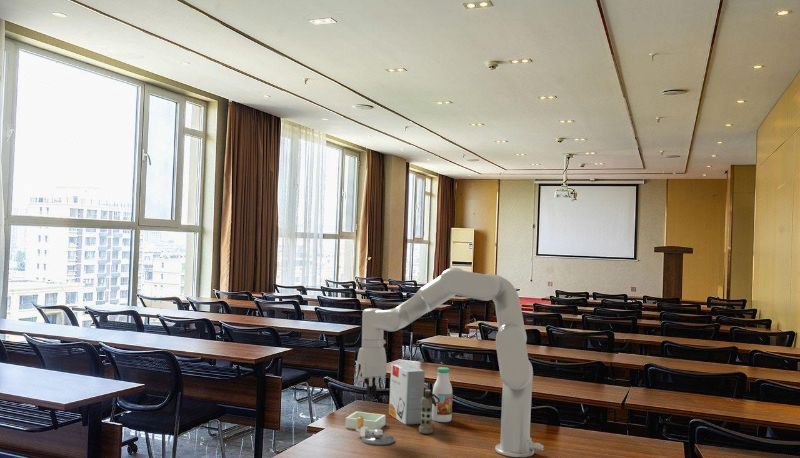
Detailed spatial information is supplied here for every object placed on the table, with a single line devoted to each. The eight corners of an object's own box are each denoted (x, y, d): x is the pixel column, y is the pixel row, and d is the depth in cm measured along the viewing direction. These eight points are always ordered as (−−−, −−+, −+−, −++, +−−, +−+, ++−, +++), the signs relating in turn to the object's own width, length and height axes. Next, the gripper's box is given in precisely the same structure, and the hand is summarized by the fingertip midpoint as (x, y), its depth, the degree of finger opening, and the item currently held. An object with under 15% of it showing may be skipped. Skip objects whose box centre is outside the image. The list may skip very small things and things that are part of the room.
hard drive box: (388, 414, 261) (390, 363, 262) (405, 413, 264) (407, 363, 265) (405, 425, 247) (407, 371, 248) (423, 423, 250) (425, 370, 251)
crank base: (398, 438, 229) (398, 426, 229) (387, 447, 218) (388, 434, 218) (366, 434, 232) (367, 422, 232) (355, 442, 222) (355, 430, 222)
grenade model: (436, 435, 235) (438, 392, 235) (417, 433, 236) (419, 391, 237) (439, 430, 241) (441, 389, 241) (420, 429, 242) (422, 387, 243)
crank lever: (384, 436, 226) (385, 421, 226) (379, 438, 223) (379, 423, 223) (359, 430, 231) (360, 416, 231) (354, 432, 228) (355, 418, 229)
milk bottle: (429, 421, 254) (431, 368, 255) (434, 416, 261) (436, 365, 262) (448, 423, 252) (451, 370, 252) (453, 419, 259) (455, 367, 260)
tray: (385, 424, 246) (385, 415, 246) (375, 431, 236) (376, 421, 236) (355, 421, 249) (356, 411, 249) (345, 427, 239) (345, 417, 239)
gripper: (384, 341, 240) (383, 392, 240) (348, 344, 232) (347, 397, 231) (396, 344, 234) (395, 396, 233) (359, 346, 226) (358, 401, 225)
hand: (371, 396), depth 232 cm, fingers closed
